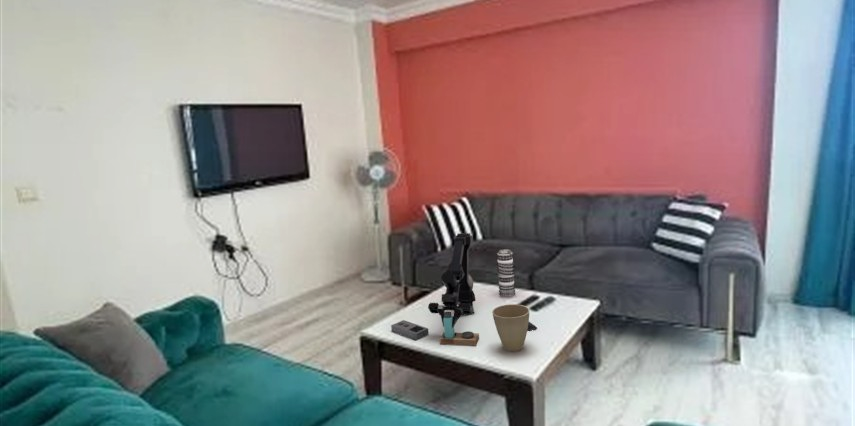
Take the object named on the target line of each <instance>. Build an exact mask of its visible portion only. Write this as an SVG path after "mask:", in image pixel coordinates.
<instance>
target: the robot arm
mask: <svg viewBox="0 0 855 426" xmlns="http://www.w3.org/2000/svg"><path fill="white" fill-rule="evenodd" d="M473 236H474V235H471V233H470V232H468V233H467V232H466V233H464V232H463V233H457V234H456V235H454V236H453V244H454V245H453V252H452V257H451V262H450V263H449V264H448V265H447V269H446V270H445V272H444V273H442V275H441V276H440V279H441V281H442V283H443V285H444V287H445V289H446V290H445V293H442V294H441V302H442V304H443V305H442V304H441V305H440V304H439V303H438V302H429V304H428V306H427V308H428V310H429V312H430V313H431V314H438V315H439V316H440V317H441V323H442V327H443V328H444V322H443V318H444V317H445V316H444V313H445V312H446V311H453V315H452V316H453V321H452V328H453V327H454V328H455V326H456V324H457V322H458V321H459V319H460V318H461V317H462V316H467V315H474V314H475V311H474V305H473V304H474V302H475V301H476V294H475V292H474V290H473V289H472V286H471V284H470V283H469V275H470V274H469V268H470V267H469V265H470V263H469V262H470V261H469V256H470V255H469V254H470V253H469V252H470V250H471V248H472V246H473V244H472V243H473V242H474V237H473ZM457 280H459V282H457ZM458 302H459V304H458Z"/></svg>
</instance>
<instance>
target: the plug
mask: <svg viewBox="0 0 855 426" xmlns="http://www.w3.org/2000/svg"><path fill="white" fill-rule="evenodd" d="M444 316H445V317H444V318H443V322H444V327H443V331H444V332H443V333H445V338H455V333H456V331H455V326H454V327H453V328H452V321H453V316H454V315H452V311H445V313H444Z"/></svg>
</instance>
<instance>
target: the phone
mask: <svg viewBox="0 0 855 426" xmlns="http://www.w3.org/2000/svg"><path fill="white" fill-rule="evenodd" d="M536 329H537V330H538V327H537V326H536V325H535V324H533V323H532V322H531V321H529V323H528V329H527V331H529V332H533V331H537V330H536ZM532 330H533V331H532Z"/></svg>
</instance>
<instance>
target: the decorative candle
mask: <svg viewBox="0 0 855 426" xmlns="http://www.w3.org/2000/svg"><path fill="white" fill-rule="evenodd" d="M513 254H514V253H513V252H512V250H511V249H507V248H506V249H500V250H499V251H498V252H497V253H496V255H497V261H496V266H497V267H496V270H497V276H498V289H499V290H498V292H499V293H498V295H499V296H498V297H499V298H500V299H502V300H512V299H515V298H516V289H515V288H516V284H515V279H514V276H515V269H514V268H515V262H513V261H514V259H513Z"/></svg>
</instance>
